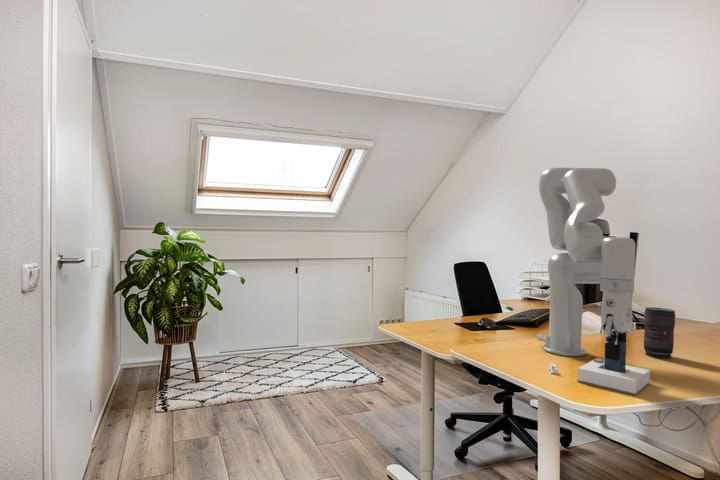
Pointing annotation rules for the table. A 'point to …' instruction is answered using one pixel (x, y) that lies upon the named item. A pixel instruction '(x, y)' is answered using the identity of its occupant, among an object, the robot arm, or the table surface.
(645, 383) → the socket block
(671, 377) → the table surface
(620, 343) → the vaping device
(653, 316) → the camera lens
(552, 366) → the power adapter
